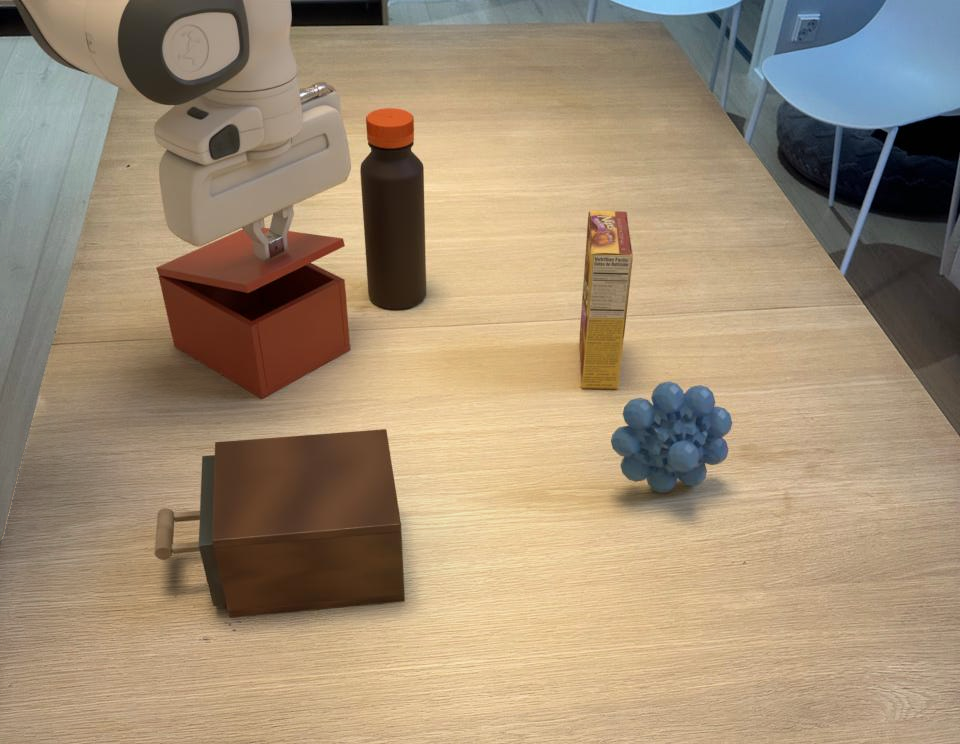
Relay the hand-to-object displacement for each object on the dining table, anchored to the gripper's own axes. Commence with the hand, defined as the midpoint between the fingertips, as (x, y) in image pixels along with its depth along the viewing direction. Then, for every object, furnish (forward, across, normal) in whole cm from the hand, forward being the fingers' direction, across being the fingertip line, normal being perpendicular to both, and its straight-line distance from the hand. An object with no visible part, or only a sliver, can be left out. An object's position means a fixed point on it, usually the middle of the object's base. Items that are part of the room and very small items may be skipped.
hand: (271, 254), depth 105 cm
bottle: (+12, -18, -1) cm, 22 cm away
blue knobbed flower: (+12, -9, +43) cm, 46 cm away
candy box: (+12, -22, +25) cm, 36 cm away
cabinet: (+12, +19, +25) cm, 34 cm away
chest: (+12, 0, -4) cm, 13 cm away
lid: (+2, 0, -4) cm, 4 cm away
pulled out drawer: (+11, +22, +23) cm, 34 cm away
